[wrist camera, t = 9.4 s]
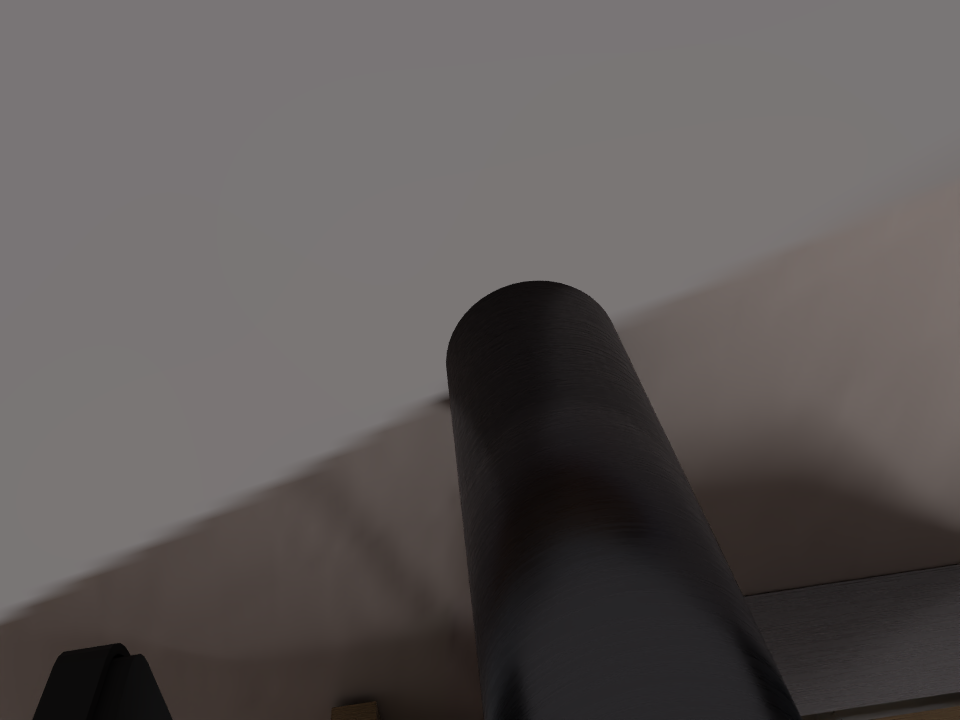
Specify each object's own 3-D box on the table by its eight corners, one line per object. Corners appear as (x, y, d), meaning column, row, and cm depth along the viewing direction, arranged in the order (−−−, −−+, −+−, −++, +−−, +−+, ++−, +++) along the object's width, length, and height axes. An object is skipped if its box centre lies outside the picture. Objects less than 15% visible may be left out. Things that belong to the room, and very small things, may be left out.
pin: (614, 269, 16) (953, 885, 6) (622, 420, 17) (903, 1100, 8) (434, 294, 16) (498, 954, 6) (458, 444, 17) (539, 1157, 8)
